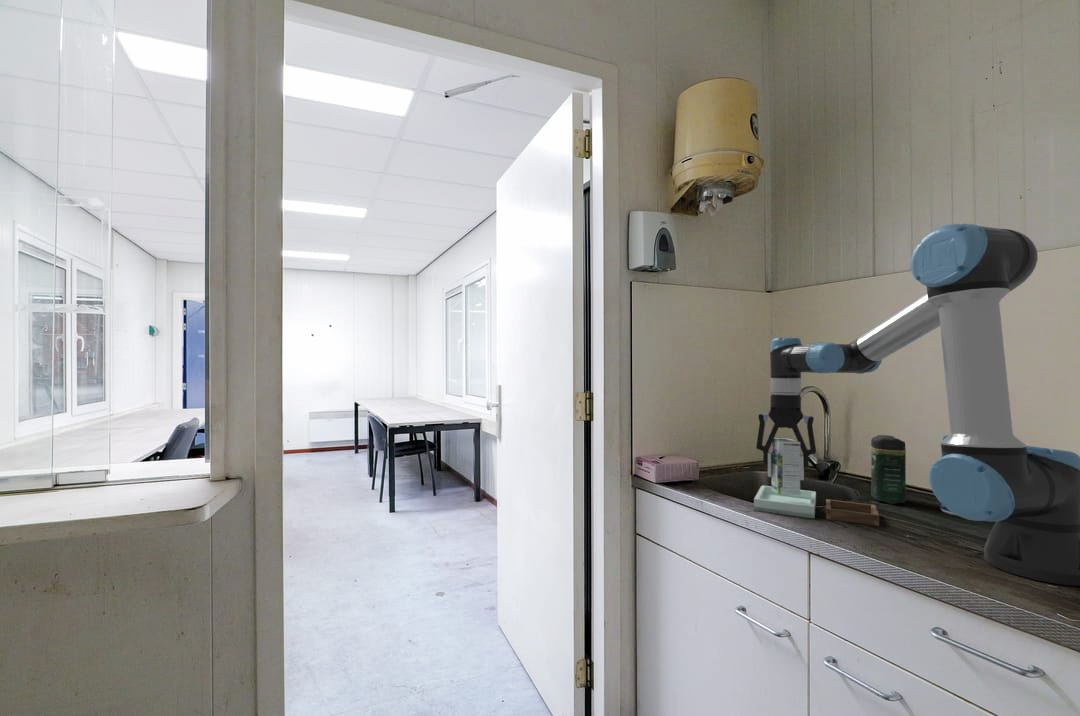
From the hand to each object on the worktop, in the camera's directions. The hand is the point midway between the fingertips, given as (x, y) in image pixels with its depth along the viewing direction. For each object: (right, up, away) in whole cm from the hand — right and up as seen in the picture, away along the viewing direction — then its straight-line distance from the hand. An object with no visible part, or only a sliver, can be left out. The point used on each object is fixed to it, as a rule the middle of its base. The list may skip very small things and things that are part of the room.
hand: (785, 477), depth 135 cm
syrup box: (0, -4, 0) cm, 4 cm away
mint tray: (0, -8, 0) cm, 8 cm away
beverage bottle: (+43, -8, -6) cm, 44 cm away
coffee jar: (+33, -8, +7) cm, 35 cm away
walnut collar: (+12, -8, -9) cm, 17 cm away
